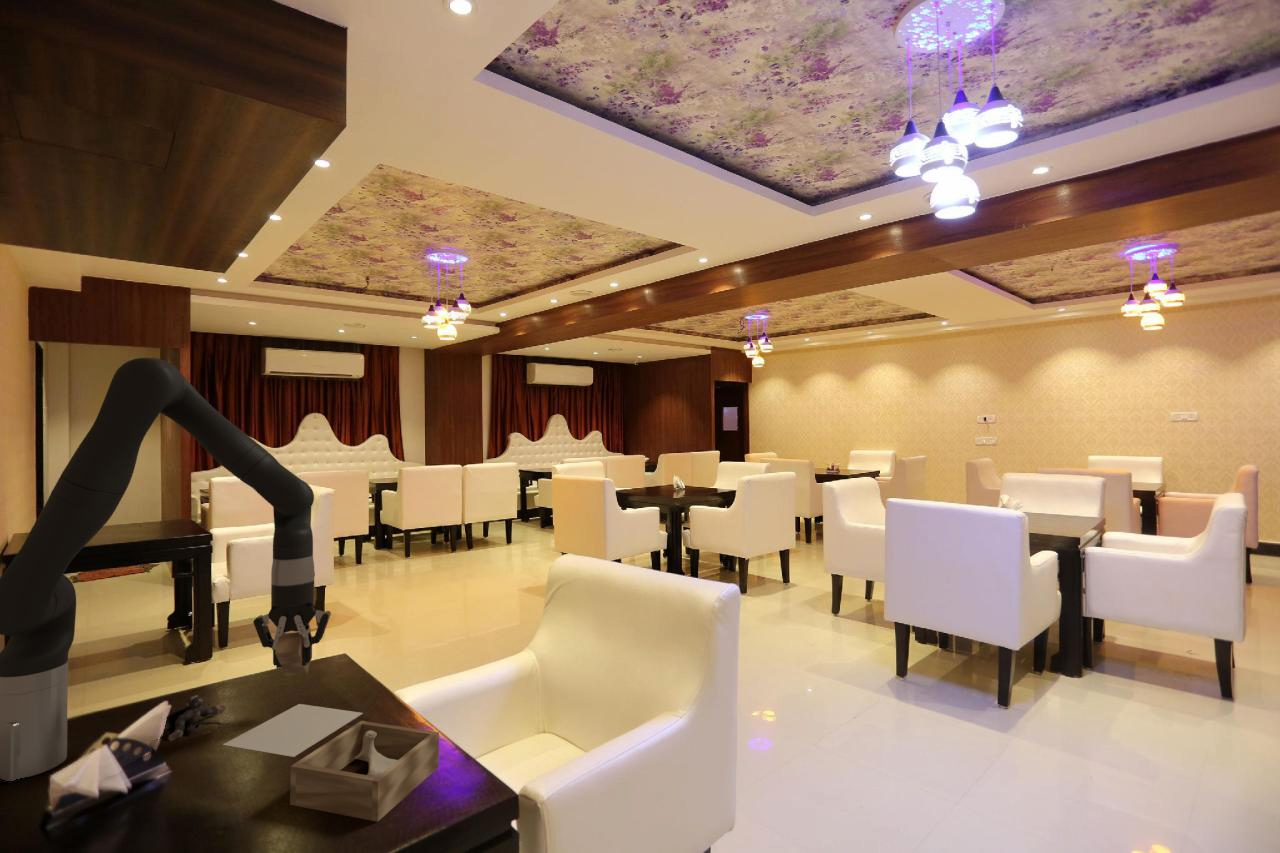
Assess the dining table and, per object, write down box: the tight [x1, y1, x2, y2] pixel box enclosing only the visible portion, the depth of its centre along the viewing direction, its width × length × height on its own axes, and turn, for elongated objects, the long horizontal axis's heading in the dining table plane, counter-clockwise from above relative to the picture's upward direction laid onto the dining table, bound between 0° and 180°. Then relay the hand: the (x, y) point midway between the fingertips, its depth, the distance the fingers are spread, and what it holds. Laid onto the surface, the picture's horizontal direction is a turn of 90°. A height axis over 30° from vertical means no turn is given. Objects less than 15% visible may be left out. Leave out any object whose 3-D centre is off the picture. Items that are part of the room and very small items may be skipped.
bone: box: [354, 731, 398, 777], centre depth 106 cm, size 10×6×10 cm
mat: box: [222, 703, 364, 758], centre depth 122 cm, size 18×16×1 cm
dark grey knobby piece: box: [162, 694, 232, 742], centre depth 124 cm, size 12×10×12 cm
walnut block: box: [275, 631, 311, 677], centre depth 126 cm, size 4×4×10 cm
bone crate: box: [289, 720, 440, 822], centre depth 104 cm, size 16×16×6 cm
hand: (292, 665), depth 125 cm, fingers closed on walnut block, 4 cm apart
